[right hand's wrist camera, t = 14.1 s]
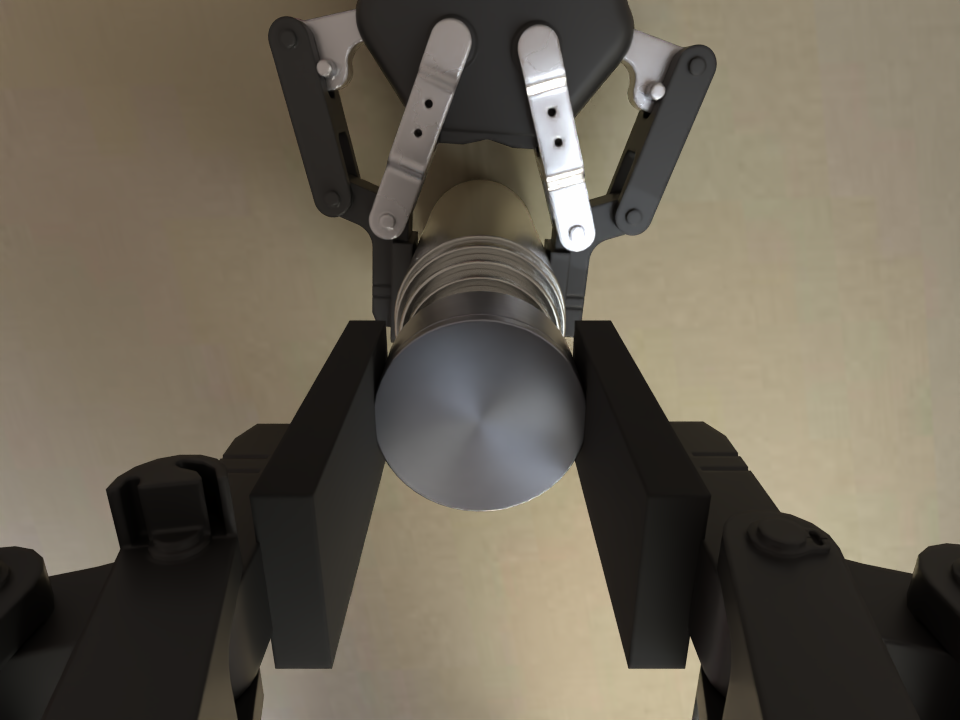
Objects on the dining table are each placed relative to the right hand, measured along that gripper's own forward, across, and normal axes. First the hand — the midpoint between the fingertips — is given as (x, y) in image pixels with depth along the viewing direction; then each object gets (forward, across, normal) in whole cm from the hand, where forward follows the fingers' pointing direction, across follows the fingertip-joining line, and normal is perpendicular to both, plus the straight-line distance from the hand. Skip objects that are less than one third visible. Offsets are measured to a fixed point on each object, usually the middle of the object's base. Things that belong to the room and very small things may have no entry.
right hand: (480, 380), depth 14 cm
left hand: (+10, 0, -3) cm, 10 cm away
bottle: (+16, 0, 0) cm, 16 cm away
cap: (-2, 0, 0) cm, 2 cm away
